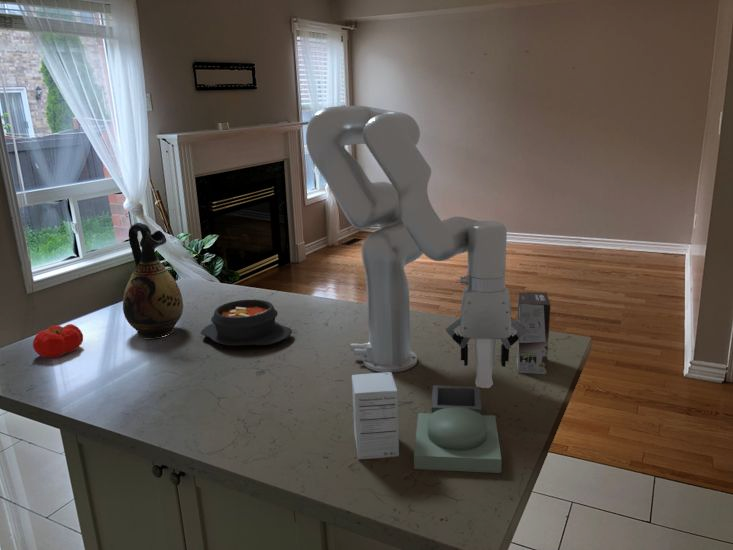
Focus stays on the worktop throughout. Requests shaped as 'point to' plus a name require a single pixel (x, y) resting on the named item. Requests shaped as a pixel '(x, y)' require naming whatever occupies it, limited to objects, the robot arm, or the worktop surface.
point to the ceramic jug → (150, 288)
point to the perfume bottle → (484, 362)
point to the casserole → (246, 324)
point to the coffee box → (533, 332)
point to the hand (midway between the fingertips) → (484, 363)
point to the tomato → (57, 340)
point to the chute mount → (457, 433)
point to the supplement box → (375, 415)
